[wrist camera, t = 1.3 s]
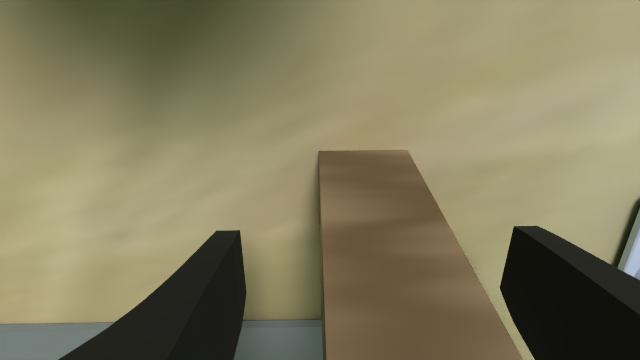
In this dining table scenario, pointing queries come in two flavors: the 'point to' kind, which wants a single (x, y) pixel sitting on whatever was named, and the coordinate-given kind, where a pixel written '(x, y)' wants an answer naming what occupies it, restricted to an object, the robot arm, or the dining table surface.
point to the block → (396, 268)
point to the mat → (59, 339)
